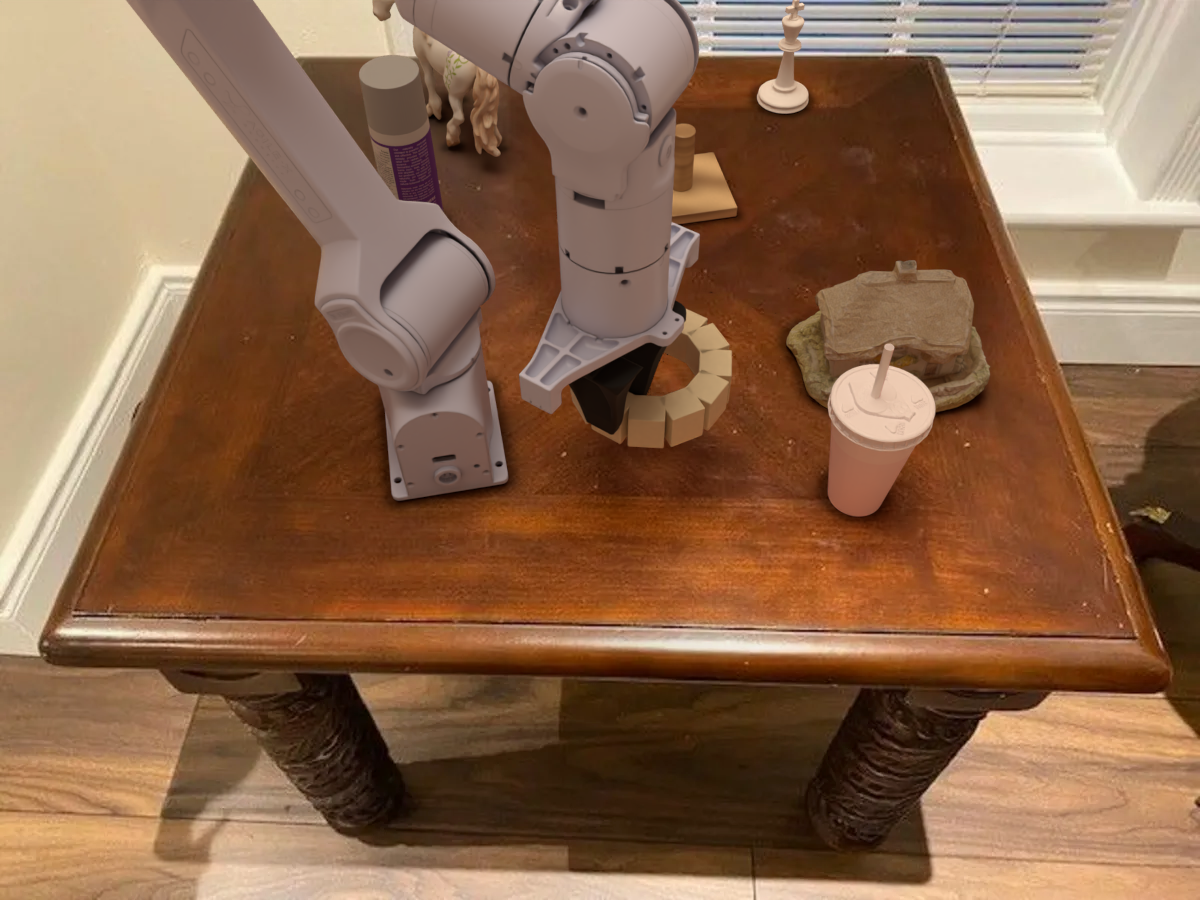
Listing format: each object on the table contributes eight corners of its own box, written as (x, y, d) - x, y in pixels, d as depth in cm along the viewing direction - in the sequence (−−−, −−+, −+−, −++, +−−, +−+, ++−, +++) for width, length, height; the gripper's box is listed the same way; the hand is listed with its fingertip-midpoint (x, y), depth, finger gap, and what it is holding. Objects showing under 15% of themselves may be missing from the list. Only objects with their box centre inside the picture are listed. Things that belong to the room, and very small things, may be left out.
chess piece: (747, 92, 100) (758, -8, 92) (791, 79, 101) (805, -20, 94) (773, 119, 97) (786, 18, 90) (818, 105, 99) (835, 5, 91)
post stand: (736, 216, 89) (743, 152, 84) (645, 229, 88) (647, 165, 83) (712, 161, 94) (718, 97, 88) (626, 172, 93) (626, 108, 88)
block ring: (748, 435, 63) (752, 408, 61) (584, 460, 62) (583, 433, 60) (708, 320, 70) (711, 292, 68) (559, 341, 69) (557, 313, 67)
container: (451, 213, 90) (427, 56, 78) (438, 250, 87) (412, 92, 75) (398, 209, 90) (366, 51, 78) (384, 245, 87) (349, 87, 75)
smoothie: (839, 442, 73) (877, 297, 62) (920, 488, 71) (975, 344, 60) (789, 500, 70) (820, 358, 59) (872, 550, 68) (920, 411, 57)
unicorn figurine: (409, 67, 104) (385, -67, 93) (549, 143, 96) (540, 4, 85) (353, 99, 101) (322, -37, 90) (494, 179, 92) (477, 41, 82)
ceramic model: (794, 421, 74) (814, 321, 67) (781, 312, 81) (798, 210, 74) (991, 423, 74) (1035, 323, 66) (962, 313, 81) (998, 211, 73)
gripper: (597, 354, 47) (601, 522, 58) (754, 189, 55) (732, 365, 65) (477, 295, 50) (502, 465, 61) (643, 144, 57) (639, 320, 68)
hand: (615, 410), depth 63 cm, fingers closed on block ring, 2 cm apart
